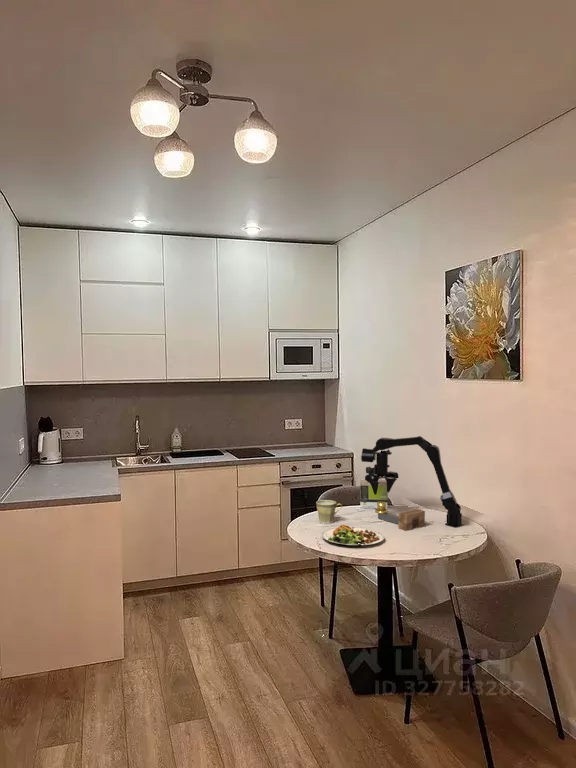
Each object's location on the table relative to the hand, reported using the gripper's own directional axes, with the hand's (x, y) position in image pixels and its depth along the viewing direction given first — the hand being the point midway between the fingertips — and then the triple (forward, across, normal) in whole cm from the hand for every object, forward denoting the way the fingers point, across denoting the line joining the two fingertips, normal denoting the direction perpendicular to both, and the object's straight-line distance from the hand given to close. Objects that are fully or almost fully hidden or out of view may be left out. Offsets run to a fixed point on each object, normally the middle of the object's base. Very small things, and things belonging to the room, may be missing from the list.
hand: (381, 493), depth 289 cm
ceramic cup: (+13, +26, -11) cm, 31 cm away
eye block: (+13, 0, +20) cm, 24 cm away
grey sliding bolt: (+13, 0, +6) cm, 14 cm away
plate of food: (+14, +36, +17) cm, 42 cm away
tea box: (+13, -15, -21) cm, 29 cm away
